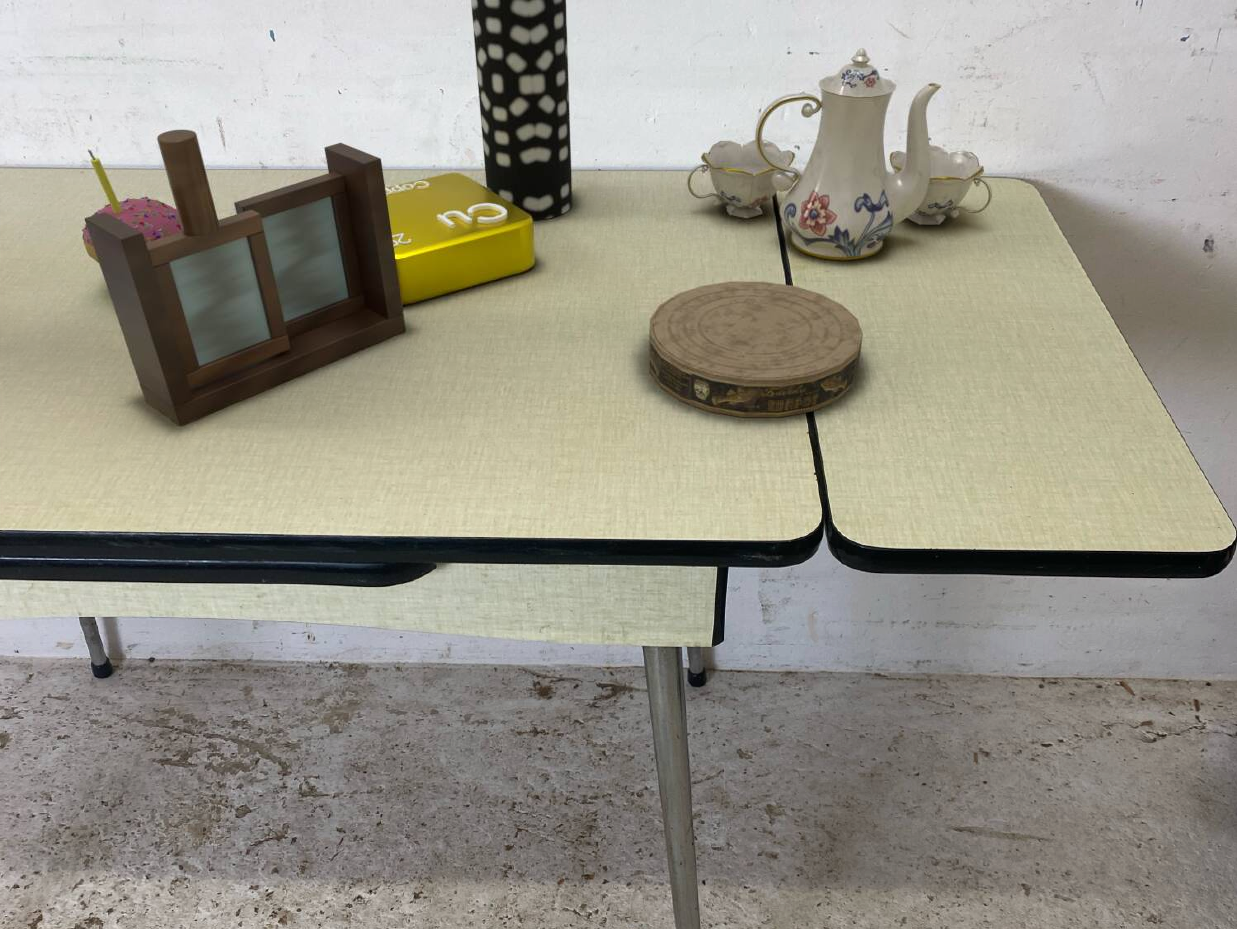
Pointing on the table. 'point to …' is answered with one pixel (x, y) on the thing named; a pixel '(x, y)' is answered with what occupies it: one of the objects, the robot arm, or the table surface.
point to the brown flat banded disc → (754, 349)
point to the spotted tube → (525, 102)
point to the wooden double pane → (305, 278)
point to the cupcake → (134, 213)
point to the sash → (214, 274)
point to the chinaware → (846, 169)
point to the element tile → (455, 236)
